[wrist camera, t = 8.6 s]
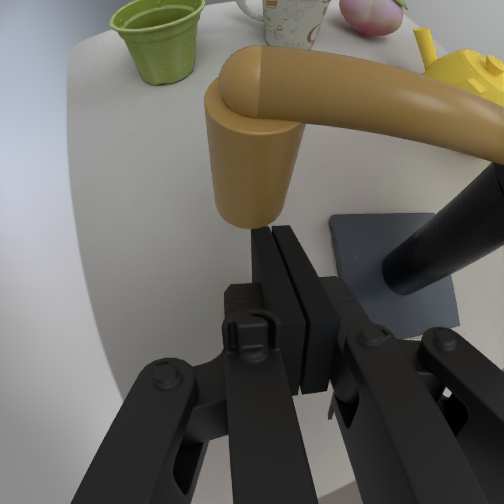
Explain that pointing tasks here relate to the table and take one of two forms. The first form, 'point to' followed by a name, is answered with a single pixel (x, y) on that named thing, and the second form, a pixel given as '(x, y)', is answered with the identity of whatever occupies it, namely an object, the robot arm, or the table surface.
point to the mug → (290, 21)
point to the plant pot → (160, 37)
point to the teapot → (463, 69)
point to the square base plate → (418, 256)
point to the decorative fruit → (373, 15)
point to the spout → (325, 119)
